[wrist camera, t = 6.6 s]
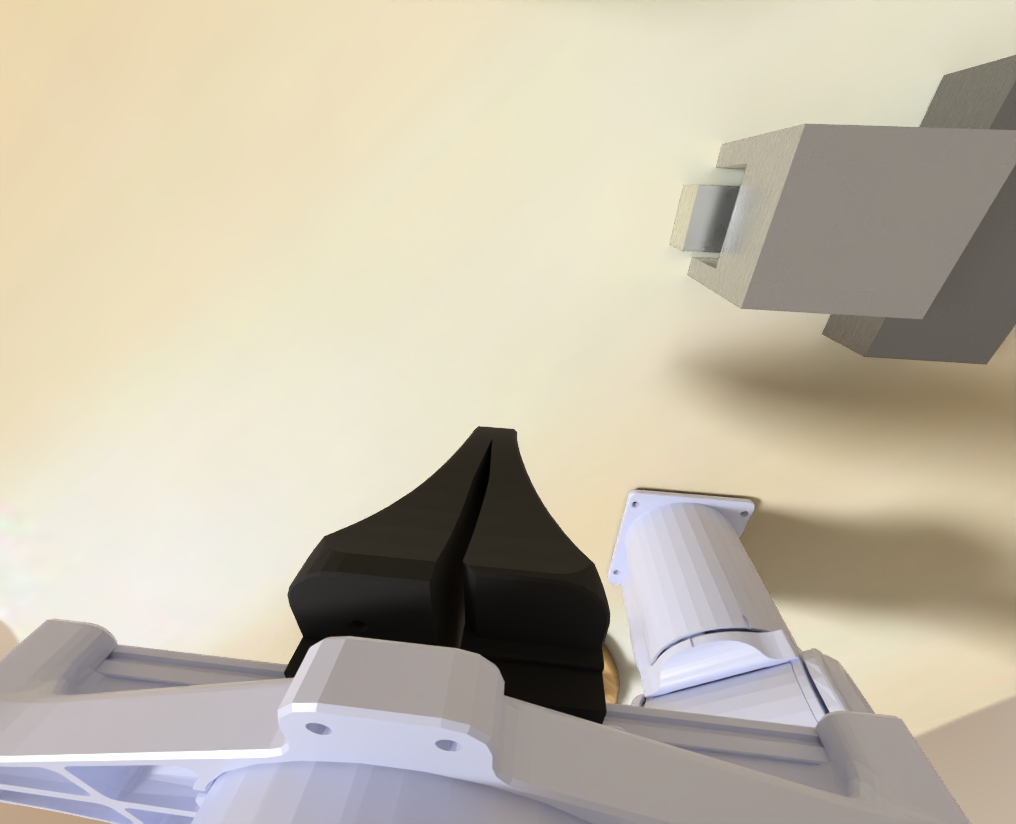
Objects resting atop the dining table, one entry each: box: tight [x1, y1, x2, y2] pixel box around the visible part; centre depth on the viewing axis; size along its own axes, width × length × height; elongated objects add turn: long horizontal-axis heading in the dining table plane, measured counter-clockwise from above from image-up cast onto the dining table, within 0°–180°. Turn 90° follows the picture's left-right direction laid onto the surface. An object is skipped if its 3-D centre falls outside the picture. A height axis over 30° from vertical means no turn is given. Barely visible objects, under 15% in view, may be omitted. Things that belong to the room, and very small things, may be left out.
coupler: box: [670, 55, 1016, 364], centre depth 16 cm, size 10×14×3 cm
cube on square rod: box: [687, 124, 1016, 319], centre depth 14 cm, size 5×6×6 cm
